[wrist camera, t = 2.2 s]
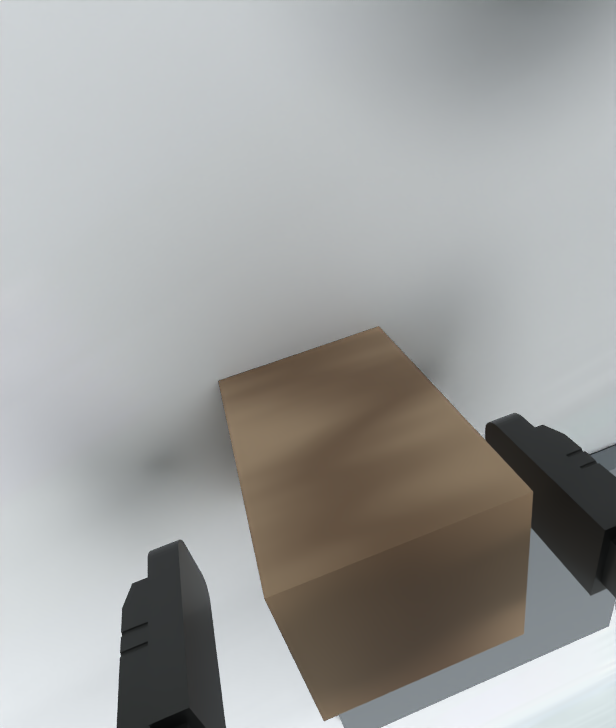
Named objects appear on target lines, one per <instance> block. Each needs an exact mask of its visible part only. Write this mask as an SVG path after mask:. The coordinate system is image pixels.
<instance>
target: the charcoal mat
mask: <svg viewBox="0 0 616 728" xmlns="http://www.w3.org/2000/svg"><path fill="white" fill-rule="evenodd" d="M590 456H591V457H593V458H594V459H595V460H596V462H597V463H600V464H601V465H602V466H603V467H605V468H606V469H607V470H608V471H609V472H611V473H612V474H613V475H614V476H615V477H616V445H615V446H612V447H610V448H607V449H605V450H602V451H600V452H597V453H595V454H592V455H590ZM615 600H616V598H615V597H614V596H613V595H612V594H611V593H610V592H609V590H608V589H605V590H603V591H601V592H598V593H596V594H594V595H592V596H590V595H589V593H588V592H587V591H586V590H585V589H584V588H583V587H582V585H581V584H580V583H579V582H578V581H577V580H576V579H575V577H574V576H573V575H572V574H571V573H570V572H569V571H568V569H567V568H566V567H565V566H564V565H563V564H562V563H561V561H560V560H559V559H558V558H557V557H556V556H555V555H554V553H553V552H552V551H551V550H550V549H549V548H548V547H547V545H546V544H545V543H544V542H543V541H542V540H541V539H540V537H539V536H538V535H537V534H536V533H535V532H534V530H533V529H532V528H531V533H530V548H529V564H528V579H527V594H526V610H525V625H524V634H523V635H520V636H518V637H516V638H514V639H511V640H509V641H507V642H504V643H502V644H500V645H498V646H495V647H493V648H491V649H488V650H486V651H484V652H482V653H479V654H477V655H475V656H472V657H470V658H468V659H465V660H463V661H461V662H459V663H456V664H454V665H452V666H449V667H447V668H445V669H443V670H440V671H438V672H436V673H433V674H431V675H429V676H426V677H424V678H422V679H420V680H417V681H415V682H413V683H410V684H408V685H406V686H404V687H401V688H399V689H397V690H394V691H392V692H390V693H388V694H385V695H383V696H381V697H378V698H376V699H374V700H371V701H369V702H367V703H365V704H362V705H360V706H358V707H355V708H353V709H351V710H349V711H346V712H344V713H342V714H339V717H340V719H341V721H342V724H343V726H344V728H381V727H383V726H385V725H387V724H390V723H392V722H394V721H396V720H399V719H401V718H403V717H405V716H408V715H410V714H412V713H414V712H417V711H419V710H421V709H423V708H426V707H428V706H430V705H432V704H435V703H437V702H439V701H441V700H444V699H446V698H448V697H450V696H453V695H455V694H457V693H459V692H462V691H464V690H466V689H468V688H471V687H473V686H475V685H477V684H480V683H482V682H484V681H486V680H489V679H491V678H493V677H496V676H498V675H500V674H502V673H505V672H507V671H509V670H511V669H514V668H516V667H518V666H520V665H523V664H525V663H527V662H529V661H532V660H534V659H536V658H538V657H541V656H543V655H545V654H547V653H550V652H552V651H554V650H556V649H559V648H561V647H563V646H565V645H568V644H570V643H572V642H574V641H577V640H579V639H581V638H583V637H586V636H588V635H590V634H592V633H595V632H597V631H599V630H601V629H604V628H606V627H608V626H609V623H610V620H611V616H612V612H613V608H614V604H615Z"/></svg>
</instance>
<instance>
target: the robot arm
mask: <svg viewBox="0 0 616 728" xmlns="http://www.w3.org/2000/svg"><path fill="white" fill-rule="evenodd" d="M485 440H486V442H487V443H488V444H489V445H490V446H491V447H492V448H493V449H494V450H495V451H496V452H497V453H498V454H499V455H500V457H501V458H502V459H503V460H504V461H505V462H506V463H507V464H508V465H509V466H510V467H511V468H512V469H513V470H514V472H515V473H516V474H517V475H518V476H519V477H520V478H521V479H522V480H523V481H524V482H525V483H526V484H527V485H528V487H529V488H530V489H531V490H532V491H533V502H532V518H531V528H532V529H533V530H534V532H535V533H536V534H537V535H538V536H539V537H540V539H541V540H542V541H543V542H544V543H545V544H546V545H547V547H548V548H549V549H550V550H551V551H552V552H553V553H554V555H555V556H556V557H557V558H558V559H559V560H560V561H561V563H562V564H563V565H564V566H565V567H566V568H567V569H568V571H569V572H570V573H571V574H572V575H573V576H574V577H575V579H576V580H577V581H578V582H579V583H580V584H581V585H582V587H583V588H584V589H585V590H586V591H587V592H588V593H589V595H590V596H592V595H594V594H596V593H598V592H601V591H603V590H605V589H608V590H609V592H610V593H611V594H612V595H613V596H614V597H615V598H616V477H615V476H614V475H613V474H612V473H611V472H609V471H608V470H607V469H606V468H605V467H603V466H602V465H601V464H600V463H597V462H596V460H595V459H594V458H593V457H591V456H590V455H589V454H588V453H587V452H583V451H582V448H580V447H579V446H578V445H577V444H576V443H574V442H573V441H572V440H571V439H570V438H568V437H567V436H566V435H565V434H563V433H560V432H558V431H556V430H554V429H551V428H549V427H547V426H544V425H541V426H538V427H536V428H535V427H534V426H532V425H531V424H530V423H529V422H528V421H527V420H526V419H524V418H523V417H522V416H521V415H519V414H517V413H513V414H510V415H507V416H505V417H502V418H499V419H497V420H494V421H492V422H489V423H487V425H486V428H485ZM615 605H616V602H615ZM121 633H122V637H121V647H120V653H121V657H120V669H119V690H118V712H117V728H226V725H225V717H224V709H223V701H222V693H221V685H220V677H219V668H218V660H217V652H216V644H215V636H214V628H213V620H212V612H211V604H210V597H209V593H208V589H207V585H206V582H205V580H204V577H203V575H202V573H201V572H200V570H199V568H198V566H197V565H196V563H195V561H194V559H193V558H192V556H191V554H190V552H189V551H188V549H187V547H186V545H185V544H184V542H183V541H182V540H178V541H175V542H173V543H170V544H167V545H165V546H162V547H160V548H157V549H154V550H152V551H150V552H149V554H148V578H145V579H143V580H140V581H138V582H135V583H132V586H131V588H130V591H129V593H128V595H127V598H126V600H125V603H124V605H123V608H122V626H121Z"/></svg>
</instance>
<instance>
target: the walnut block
mask: <svg viewBox="0 0 616 728" xmlns="http://www.w3.org/2000/svg"><path fill="white" fill-rule="evenodd" d="M218 382H219V387H220V391H221V396H222V401H223V406H224V410H225V415H226V420H227V424H228V429H229V434H230V439H231V443H232V448H233V453H234V458H235V462H236V467H237V472H238V476H239V481H240V486H241V491H242V495H243V500H244V505H245V509H246V514H247V519H248V524H249V528H250V533H251V538H252V542H253V547H254V552H255V557H256V561H257V566H258V571H259V575H260V580H261V585H262V590H263V594H264V599H265V601H266V603H267V605H268V607H269V609H270V611H271V613H272V615H273V617H274V619H275V622H276V624H277V626H278V628H279V630H280V632H281V634H282V636H283V638H284V640H285V642H286V644H287V646H288V648H289V650H290V652H291V654H292V657H293V659H294V661H295V663H296V665H297V667H298V669H299V671H300V673H301V675H302V677H303V679H304V681H305V683H306V685H307V687H308V689H309V692H310V694H311V696H312V698H313V700H314V702H315V704H316V706H317V708H318V710H319V712H320V714H321V716H322V718H323V720H324V721H326V720H328V719H330V718H333V717H335V716H337V715H339V714H342V713H344V712H346V711H349V710H351V709H353V708H355V707H358V706H360V705H362V704H365V703H367V702H369V701H371V700H374V699H376V698H378V697H381V696H383V695H385V694H388V693H390V692H392V691H394V690H397V689H399V688H401V687H404V686H406V685H408V684H410V683H413V682H415V681H417V680H420V679H422V678H424V677H426V676H429V675H431V674H433V673H436V672H438V671H440V670H443V669H445V668H447V667H449V666H452V665H454V664H456V663H459V662H461V661H463V660H465V659H468V658H470V657H472V656H475V655H477V654H479V653H482V652H484V651H486V650H488V649H491V648H493V647H495V646H498V645H500V644H502V643H504V642H507V641H509V640H511V639H514V638H516V637H518V636H520V635H523V634H524V625H525V610H526V594H527V579H528V564H529V548H530V533H531V518H532V502H533V491H532V490H531V489H530V488H529V487H528V485H527V484H526V483H525V482H524V481H523V480H522V479H521V478H520V477H519V476H518V475H517V474H516V473H515V472H514V470H513V469H512V468H511V467H510V466H509V465H508V464H507V463H506V462H505V461H504V460H503V459H502V458H501V457H500V455H499V454H498V453H497V452H496V451H495V450H494V449H493V448H492V447H491V446H490V445H489V444H488V443H487V442H486V440H485V439H484V438H483V437H482V436H481V435H480V434H479V433H478V432H477V431H476V430H475V429H474V428H473V427H472V425H471V424H470V423H469V422H468V421H467V420H466V419H465V418H464V417H463V416H462V415H461V414H460V413H459V412H458V411H457V409H456V408H455V407H454V406H453V405H452V404H451V403H450V402H449V401H448V400H447V399H446V398H445V397H444V396H443V394H442V393H441V392H440V391H439V390H438V389H437V388H436V387H435V386H434V385H433V384H432V383H431V382H430V381H429V379H428V378H427V377H426V376H425V375H424V374H423V373H422V372H421V371H420V370H419V369H418V368H417V367H416V366H415V364H414V363H413V362H412V361H411V360H410V359H409V358H408V357H407V356H406V355H405V354H404V353H403V352H402V351H401V349H400V348H399V347H398V346H397V345H396V344H395V343H394V342H393V341H392V340H391V339H390V338H389V337H388V336H387V335H386V333H385V332H384V331H383V330H382V329H381V328H380V327H379V326H378V327H375V328H372V329H369V330H366V331H363V332H360V333H358V334H355V335H352V336H349V337H346V338H343V339H340V340H337V341H334V342H331V343H328V344H325V345H322V346H319V347H316V348H313V349H311V350H308V351H305V352H302V353H299V354H296V355H293V356H290V357H287V358H284V359H281V360H278V361H275V362H272V363H269V364H266V365H264V366H261V367H258V368H255V369H252V370H249V371H246V372H243V373H240V374H237V375H234V376H231V377H228V378H225V379H222V380H219V381H218Z"/></svg>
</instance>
